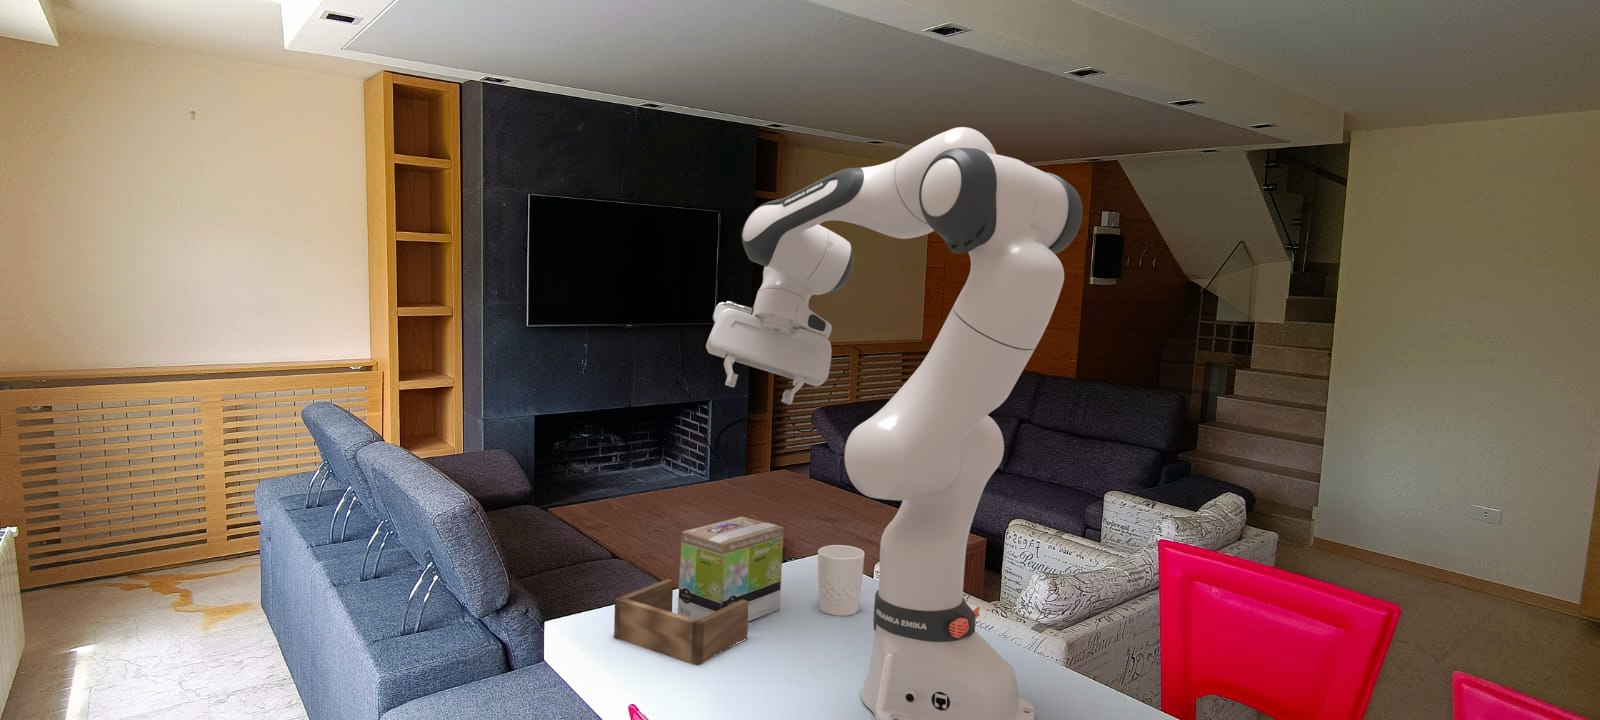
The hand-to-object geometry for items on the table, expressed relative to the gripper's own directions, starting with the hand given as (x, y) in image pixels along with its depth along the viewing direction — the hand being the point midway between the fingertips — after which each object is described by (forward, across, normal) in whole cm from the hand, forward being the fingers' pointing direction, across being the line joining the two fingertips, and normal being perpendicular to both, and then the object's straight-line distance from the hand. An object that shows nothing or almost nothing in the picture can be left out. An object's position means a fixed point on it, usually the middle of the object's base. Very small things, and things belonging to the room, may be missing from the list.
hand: (758, 394), depth 138 cm
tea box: (+32, +7, +19) cm, 38 cm away
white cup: (+27, +25, +18) cm, 41 cm away
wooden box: (+38, -1, +11) cm, 39 cm away
